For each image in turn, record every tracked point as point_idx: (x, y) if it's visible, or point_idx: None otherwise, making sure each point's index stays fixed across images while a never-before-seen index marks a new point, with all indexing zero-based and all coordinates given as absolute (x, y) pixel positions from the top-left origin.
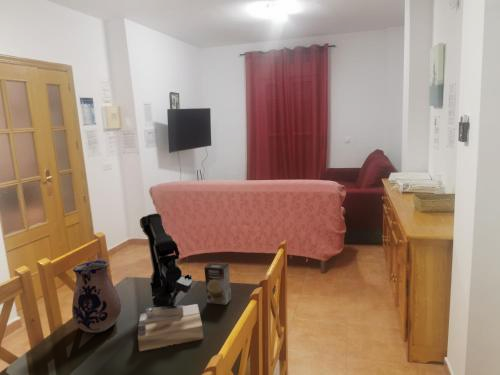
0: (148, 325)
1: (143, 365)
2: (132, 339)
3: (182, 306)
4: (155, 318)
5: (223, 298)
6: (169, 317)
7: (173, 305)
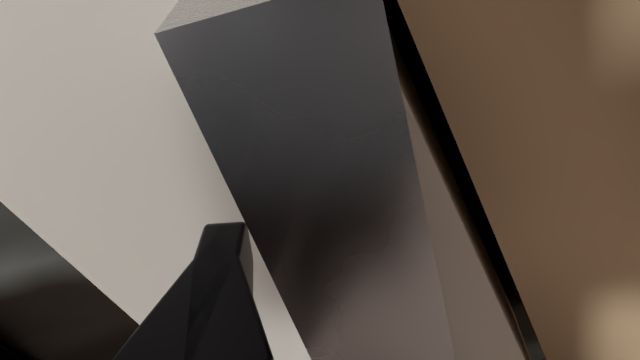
0: (636, 357)
1: None
2: None
3: (278, 21)
4: None
5: None
6: None
7: (257, 312)
